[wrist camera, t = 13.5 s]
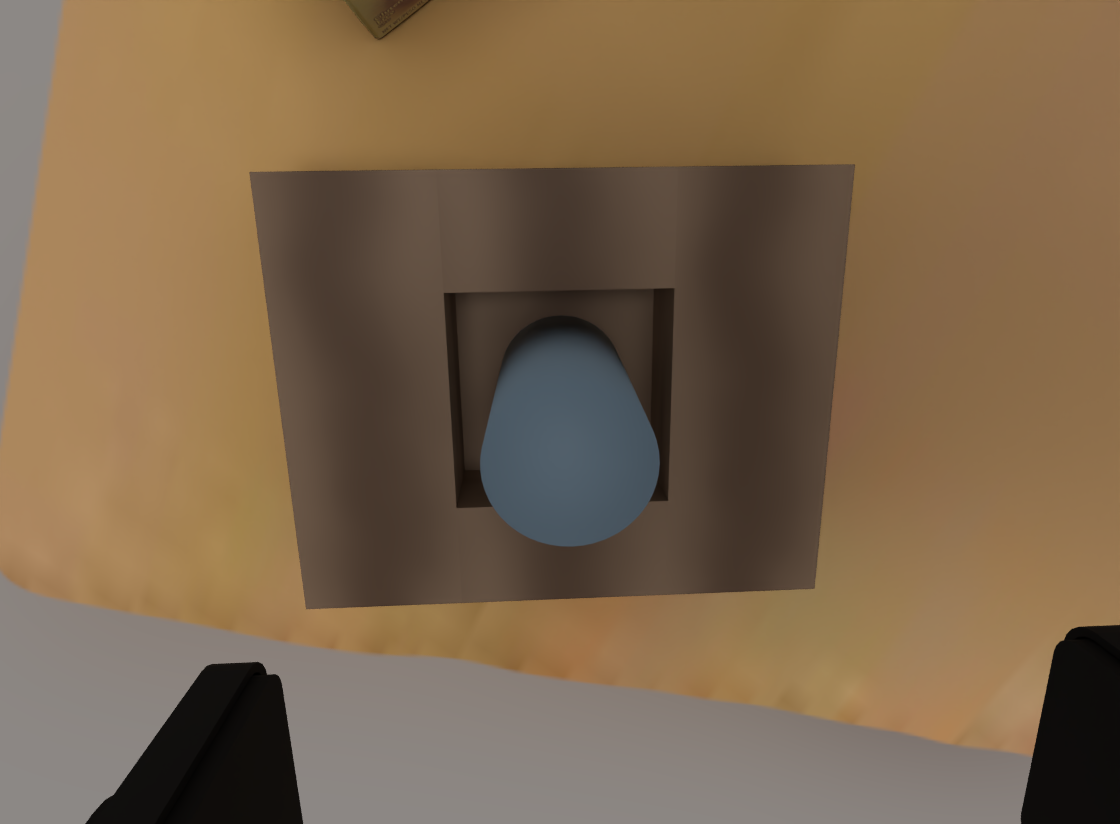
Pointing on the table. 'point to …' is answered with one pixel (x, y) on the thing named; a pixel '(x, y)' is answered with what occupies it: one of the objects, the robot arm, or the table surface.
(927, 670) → the table surface
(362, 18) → the candy box
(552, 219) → the peg block
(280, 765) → the robot arm
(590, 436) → the peg
